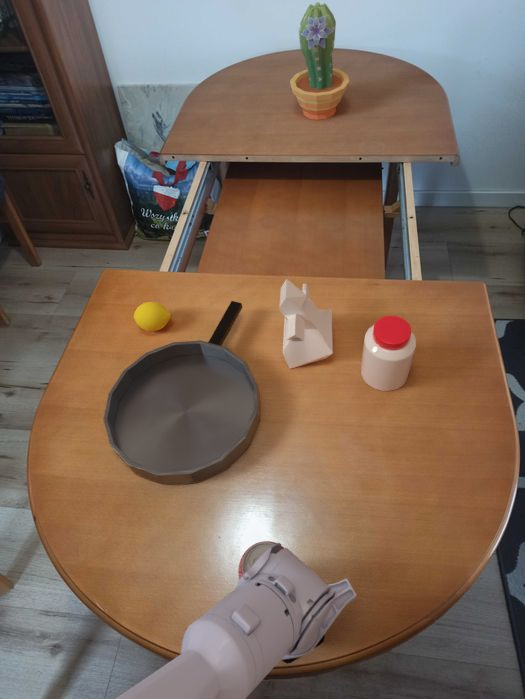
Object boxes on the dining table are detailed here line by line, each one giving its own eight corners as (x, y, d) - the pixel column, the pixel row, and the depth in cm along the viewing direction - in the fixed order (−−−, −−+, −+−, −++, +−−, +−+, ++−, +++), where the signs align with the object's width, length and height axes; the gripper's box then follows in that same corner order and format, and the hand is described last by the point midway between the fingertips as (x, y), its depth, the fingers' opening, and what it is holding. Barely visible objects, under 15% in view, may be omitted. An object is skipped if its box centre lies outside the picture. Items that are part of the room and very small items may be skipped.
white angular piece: (331, 311, 91) (333, 255, 80) (332, 375, 82) (334, 322, 71) (285, 311, 92) (281, 256, 81) (281, 374, 83) (276, 322, 72)
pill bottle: (356, 385, 81) (361, 344, 72) (364, 348, 85) (370, 306, 76) (404, 395, 79) (416, 354, 70) (411, 357, 83) (422, 314, 74)
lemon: (134, 337, 91) (125, 318, 87) (140, 314, 94) (132, 295, 90) (171, 337, 90) (164, 317, 86) (176, 314, 94) (170, 295, 89)
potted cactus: (279, 116, 134) (272, 10, 114) (313, 91, 141) (312, -13, 121) (325, 132, 127) (327, 23, 107) (359, 105, 134) (367, -2, 114)
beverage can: (308, 585, 63) (303, 554, 54) (283, 633, 60) (273, 608, 51) (267, 560, 66) (255, 525, 57) (241, 604, 63) (224, 575, 54)
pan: (222, 507, 70) (218, 498, 67) (83, 455, 77) (74, 444, 74) (300, 330, 89) (299, 317, 86) (182, 301, 95) (178, 287, 92)
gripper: (332, 540, 52) (329, 572, 62) (206, 613, 48) (226, 633, 59) (372, 606, 48) (361, 628, 58) (236, 691, 44) (252, 697, 55)
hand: (295, 635), depth 59 cm, fingers closed
